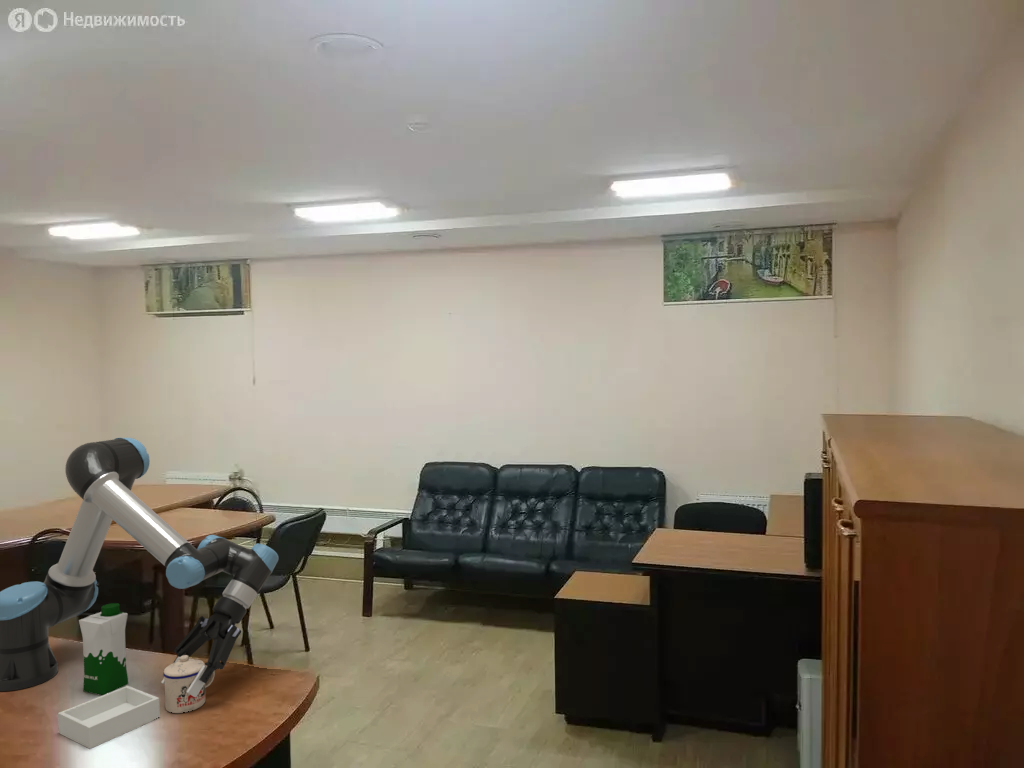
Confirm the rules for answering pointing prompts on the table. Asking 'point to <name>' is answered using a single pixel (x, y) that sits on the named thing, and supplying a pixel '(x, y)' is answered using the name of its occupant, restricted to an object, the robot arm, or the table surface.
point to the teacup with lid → (183, 685)
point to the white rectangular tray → (108, 716)
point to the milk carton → (104, 650)
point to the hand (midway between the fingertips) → (178, 689)
